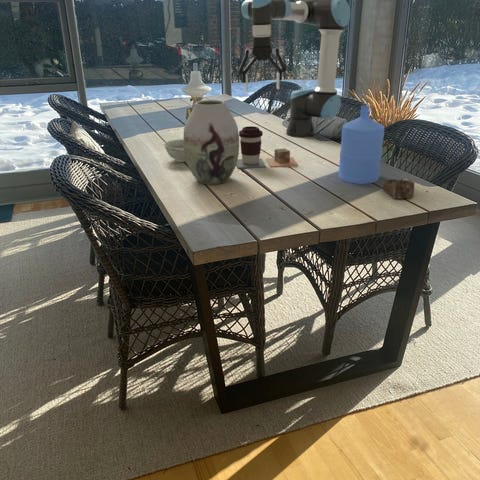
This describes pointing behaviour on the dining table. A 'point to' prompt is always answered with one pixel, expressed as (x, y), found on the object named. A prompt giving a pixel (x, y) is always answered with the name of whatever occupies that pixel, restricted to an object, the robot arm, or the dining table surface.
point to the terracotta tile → (275, 164)
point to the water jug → (361, 149)
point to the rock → (399, 188)
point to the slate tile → (244, 166)
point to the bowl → (176, 150)
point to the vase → (211, 142)
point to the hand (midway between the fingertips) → (262, 89)
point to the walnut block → (282, 156)
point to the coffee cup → (250, 144)
